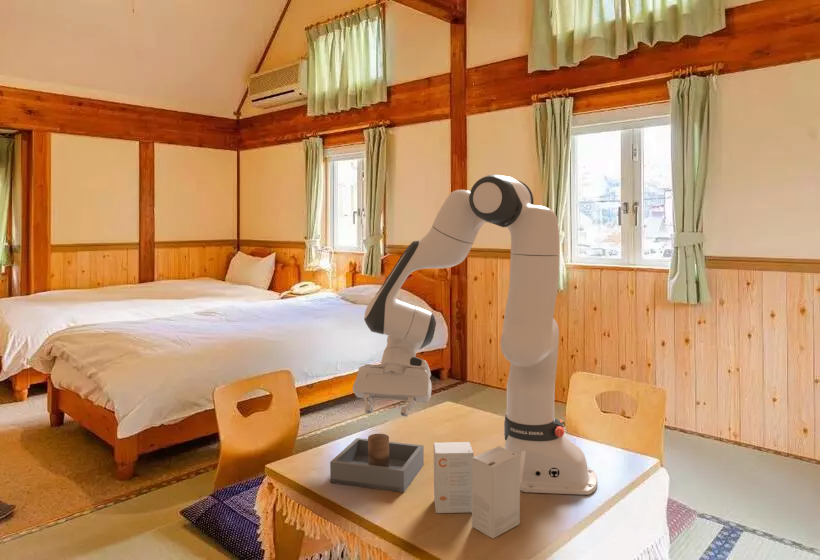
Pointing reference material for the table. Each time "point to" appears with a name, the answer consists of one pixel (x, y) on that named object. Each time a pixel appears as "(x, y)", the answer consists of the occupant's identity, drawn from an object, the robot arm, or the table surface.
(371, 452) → the walnut cylinder
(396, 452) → the tote
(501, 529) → the skincare box
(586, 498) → the table surface
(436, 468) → the small box
